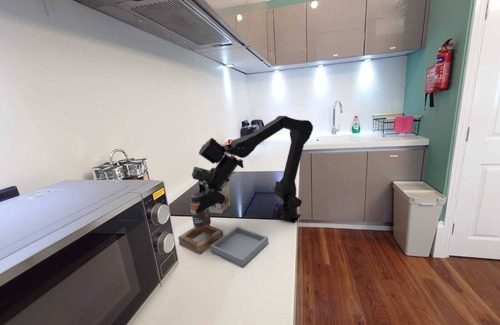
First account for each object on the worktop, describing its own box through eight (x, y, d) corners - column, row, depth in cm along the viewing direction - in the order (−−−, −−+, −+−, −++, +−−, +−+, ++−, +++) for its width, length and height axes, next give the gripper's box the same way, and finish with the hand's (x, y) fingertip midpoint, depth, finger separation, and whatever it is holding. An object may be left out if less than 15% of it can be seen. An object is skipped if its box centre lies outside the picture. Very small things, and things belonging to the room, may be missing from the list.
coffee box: (221, 214, 100) (217, 179, 96) (209, 212, 102) (204, 178, 98) (230, 205, 108) (227, 173, 104) (218, 204, 110) (215, 172, 106)
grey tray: (237, 232, 84) (237, 226, 84) (268, 243, 76) (268, 236, 76) (210, 252, 74) (210, 245, 74) (243, 267, 66) (242, 260, 65)
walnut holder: (203, 229, 88) (202, 222, 88) (223, 237, 82) (222, 230, 81) (179, 244, 80) (178, 236, 79) (200, 254, 73) (198, 246, 73)
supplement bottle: (212, 219, 82) (207, 190, 79) (210, 228, 76) (205, 197, 73) (195, 221, 82) (190, 192, 79) (192, 230, 76) (186, 199, 73)
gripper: (199, 153, 83) (173, 187, 82) (209, 163, 66) (177, 207, 65) (223, 169, 87) (198, 202, 86) (238, 183, 70) (208, 225, 69)
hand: (195, 208), depth 77 cm, fingers closed on supplement bottle, 6 cm apart
